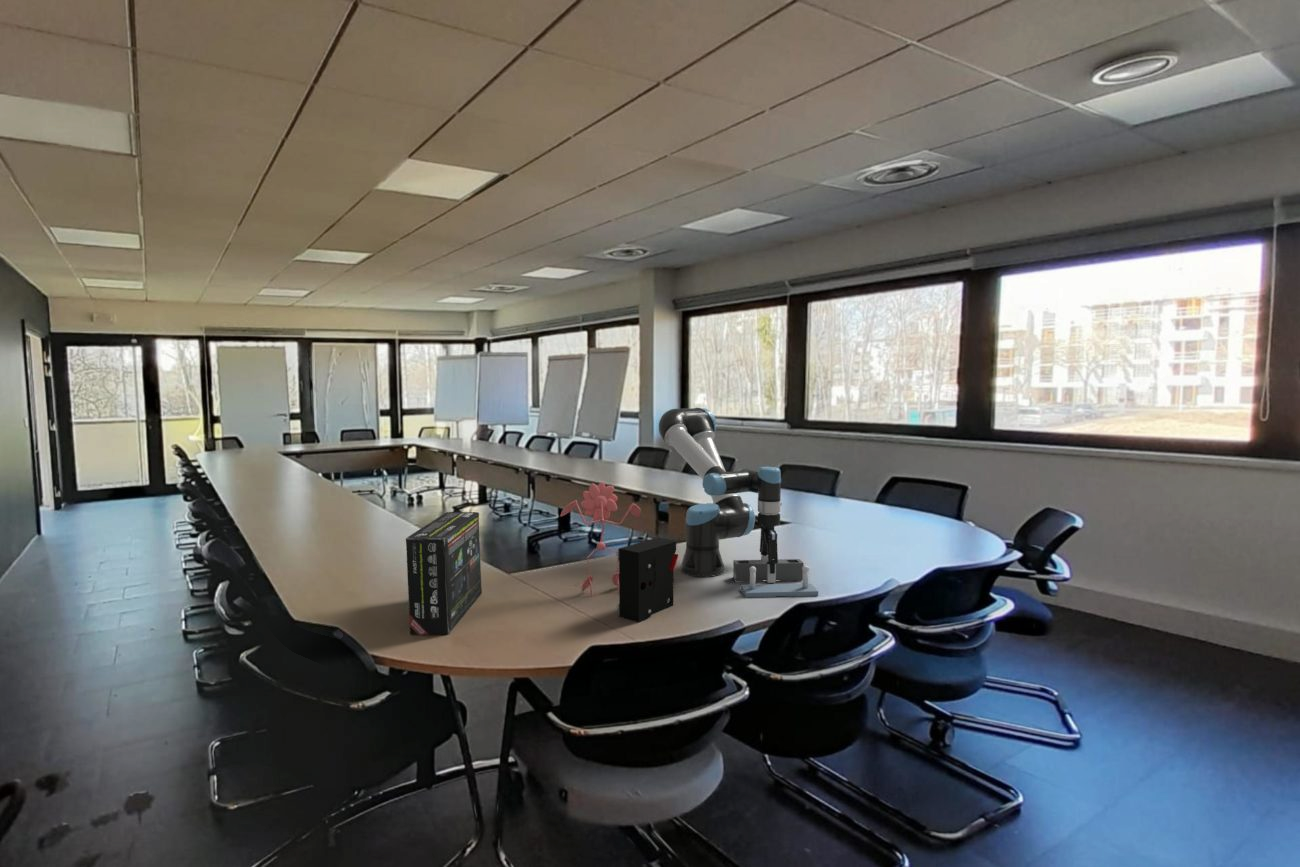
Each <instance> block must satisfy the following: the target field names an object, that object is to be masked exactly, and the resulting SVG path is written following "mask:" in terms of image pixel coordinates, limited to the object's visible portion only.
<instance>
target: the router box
mask: <svg viewBox="0 0 1300 867" xmlns="http://www.w3.org/2000/svg"><path fill="white" fill-rule="evenodd" d="M479 517H480V512H479V511H449V512H444V513H443V514H442V515H440V516H438V517H437V518H435V519H433V520H431V522H428V523H427V524H425V525H424V526H423V527H421V528H420V529H418V530H416V531H415V532H413V533H411V535H409V536H408V537H406V538H405V546H406V550H405V551H406V567H407V568H406V570H407V572H406V574H407V575H406V576H407V594H408V613H409V615H408V616H409V634H410V635H423V636H429V635H431V636H433V635H448V634H449V635H450V634H451V632H452V631H453V629H455V627H457V624H458V623H459V622H460V621H461V620H462V618H463V617H464V616H465V615H466V613H467V612H468V611H469V610H470V608H471V607H472V606H473V605H474V604H475V602H476V601H477V600H478V598H479V597H480V596H481V595H482V594H483V590H482V573H481V571H482V570H481V547H480V546H481V543H480V542H481V541H480V518H479Z"/></svg>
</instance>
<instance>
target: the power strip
mask: <svg viewBox="0 0 1300 867" xmlns="http://www.w3.org/2000/svg"><path fill="white" fill-rule="evenodd" d="M766 562H768V560H761V559H738V560H736V559H733V563H732V564H733V567H732V574H733V575H732V576H733V577H734V578H735V579H734V578H733V579H734V581H735V580H736V581H748V582H750V571H749V569H750V567H752V566H754V567H755V568H756V582H764V581H763V580H767V564H766ZM804 565H805V564H804V561H802V559H800V558H795V559H794V558H791V559H790V558H784V559H778V563H776V580H798V581H802V580H803V570H802V567H803V566H804ZM736 581H735V582H736Z"/></svg>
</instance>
